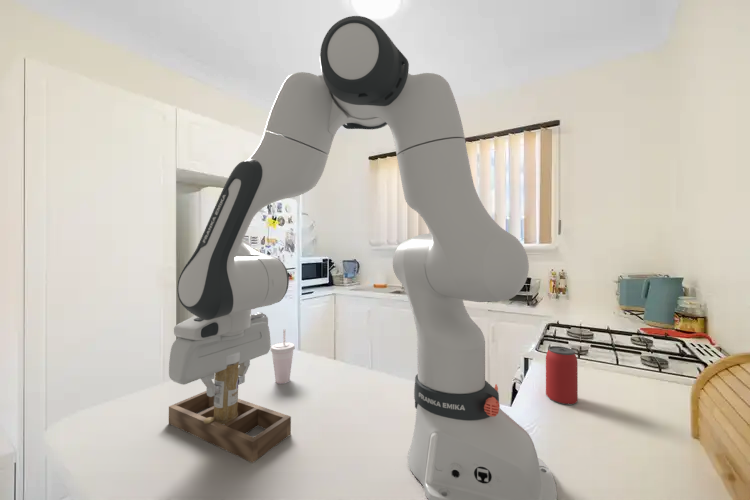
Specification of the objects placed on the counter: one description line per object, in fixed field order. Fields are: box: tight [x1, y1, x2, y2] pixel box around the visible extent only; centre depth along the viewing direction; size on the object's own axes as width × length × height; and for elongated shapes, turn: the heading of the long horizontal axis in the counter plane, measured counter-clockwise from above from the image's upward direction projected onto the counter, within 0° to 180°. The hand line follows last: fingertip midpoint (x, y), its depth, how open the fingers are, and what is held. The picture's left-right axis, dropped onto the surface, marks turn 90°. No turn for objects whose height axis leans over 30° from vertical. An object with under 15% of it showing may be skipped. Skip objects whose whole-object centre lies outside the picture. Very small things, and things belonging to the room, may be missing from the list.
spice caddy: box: [168, 390, 292, 464], centre depth 61 cm, size 25×9×4 cm, turn 62°
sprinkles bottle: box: [213, 352, 240, 425], centre depth 60 cm, size 5×5×13 cm
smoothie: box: [270, 328, 295, 385], centre depth 84 cm, size 6×6×14 cm
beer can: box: [545, 345, 579, 406], centre depth 73 cm, size 7×7×12 cm
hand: (226, 389), depth 60 cm, fingers closed on sprinkles bottle, 4 cm apart
